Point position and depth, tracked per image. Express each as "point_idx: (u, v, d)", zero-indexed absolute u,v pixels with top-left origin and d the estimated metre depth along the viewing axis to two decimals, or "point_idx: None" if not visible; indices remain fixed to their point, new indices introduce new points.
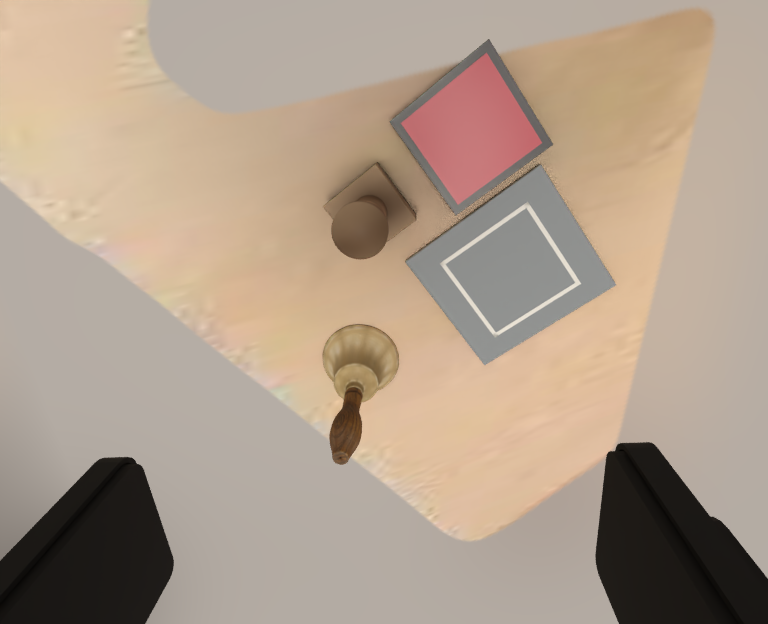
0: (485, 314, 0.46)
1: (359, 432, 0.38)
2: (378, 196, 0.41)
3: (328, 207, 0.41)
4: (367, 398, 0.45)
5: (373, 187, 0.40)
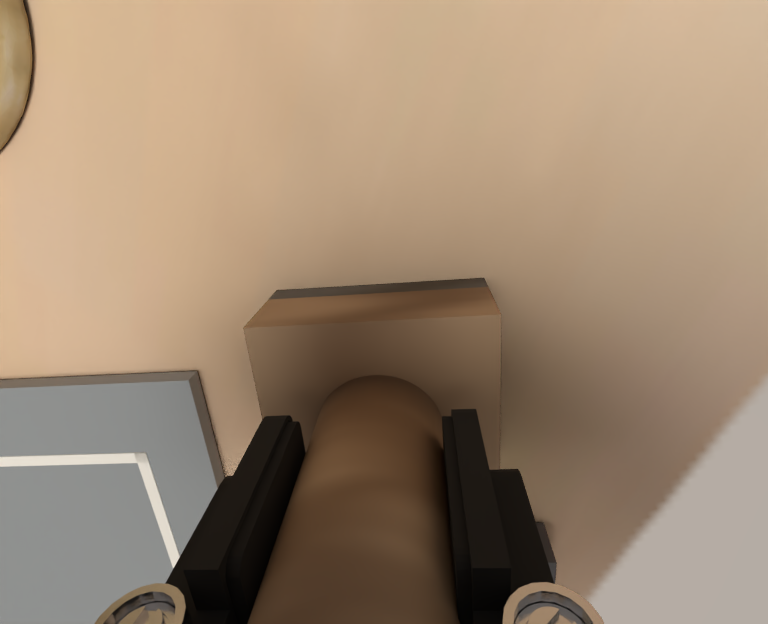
0: None
1: None
2: None
3: (484, 330, 0.10)
4: None
5: None
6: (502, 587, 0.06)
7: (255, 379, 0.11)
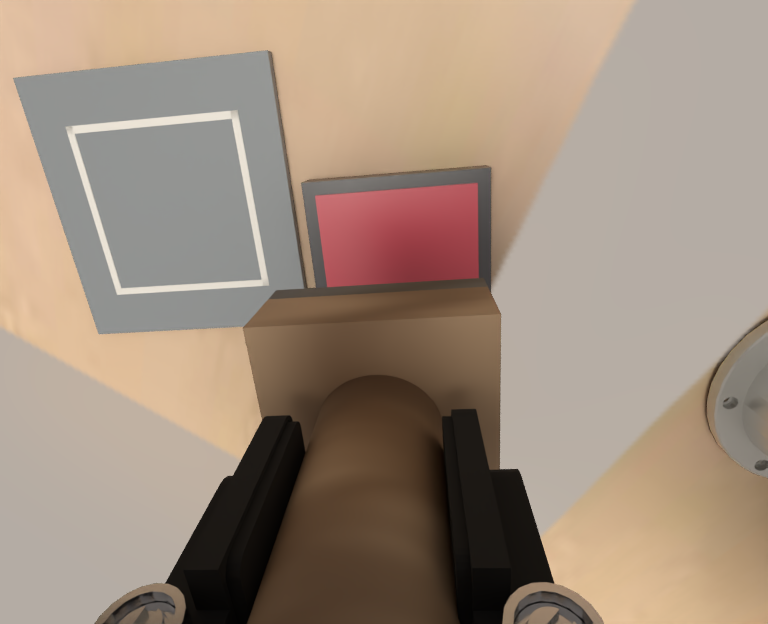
0: (115, 134, 0.25)
1: None
2: None
3: (484, 329, 0.10)
4: None
5: None
6: (502, 587, 0.06)
7: (254, 379, 0.11)
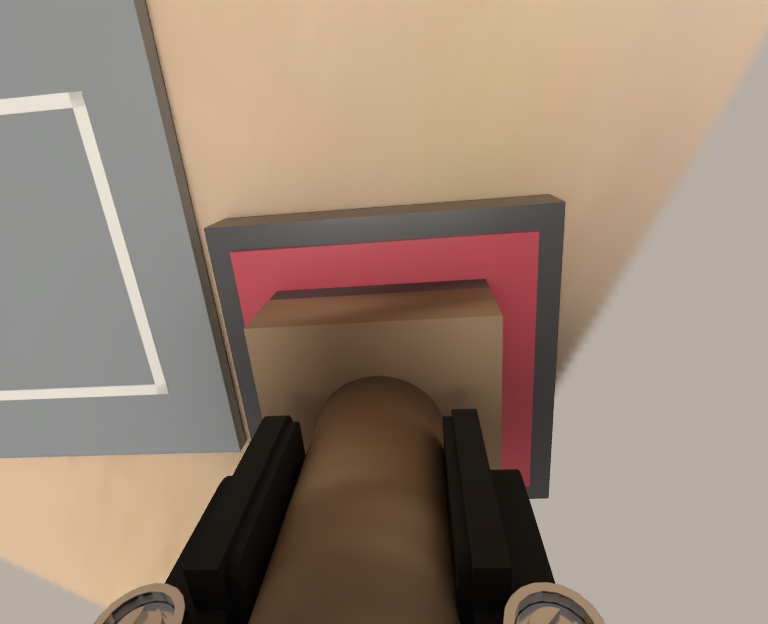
0: None
1: None
2: None
3: (486, 331, 0.10)
4: None
5: None
6: (503, 587, 0.06)
7: (255, 380, 0.11)
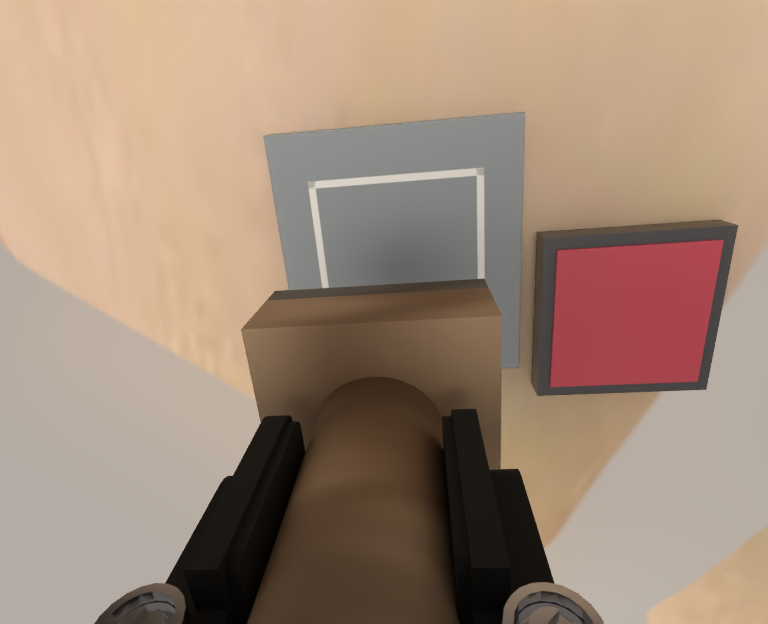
0: (356, 189, 0.26)
1: None
2: None
3: (485, 331, 0.10)
4: None
5: None
6: (502, 587, 0.06)
7: (253, 381, 0.11)
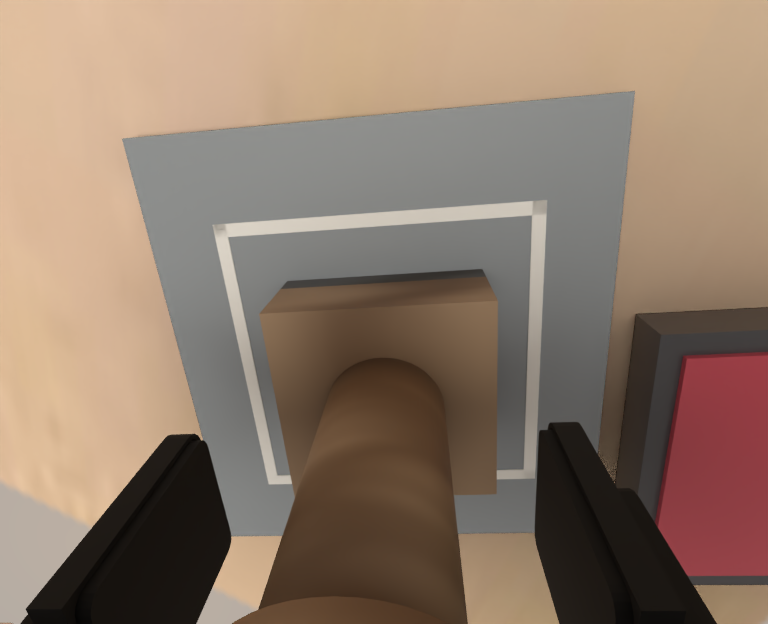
0: (303, 239, 0.14)
1: None
2: None
3: (482, 315, 0.11)
4: None
5: None
6: None
7: (269, 362, 0.12)
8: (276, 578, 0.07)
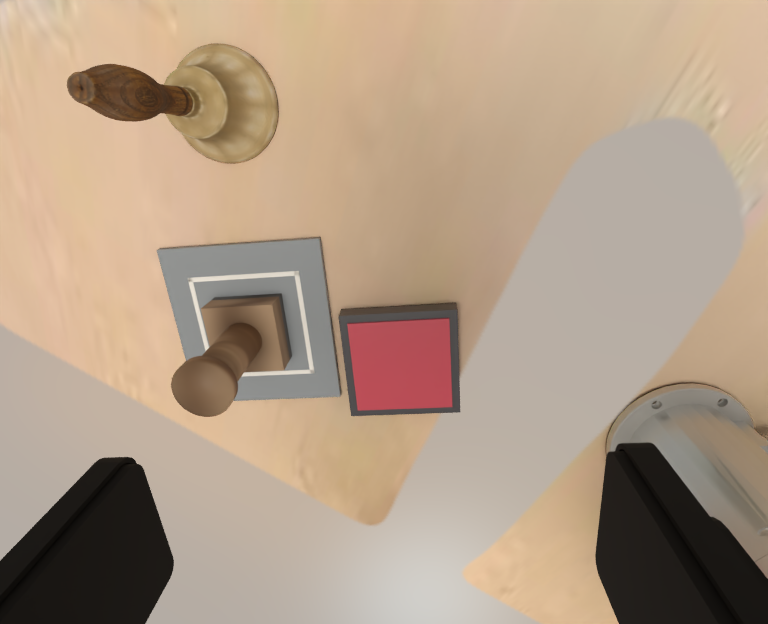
0: (219, 283, 0.40)
1: (117, 119, 0.23)
2: (254, 356, 0.39)
3: (268, 309, 0.37)
4: None
5: (264, 357, 0.39)
6: None
7: None
8: None
